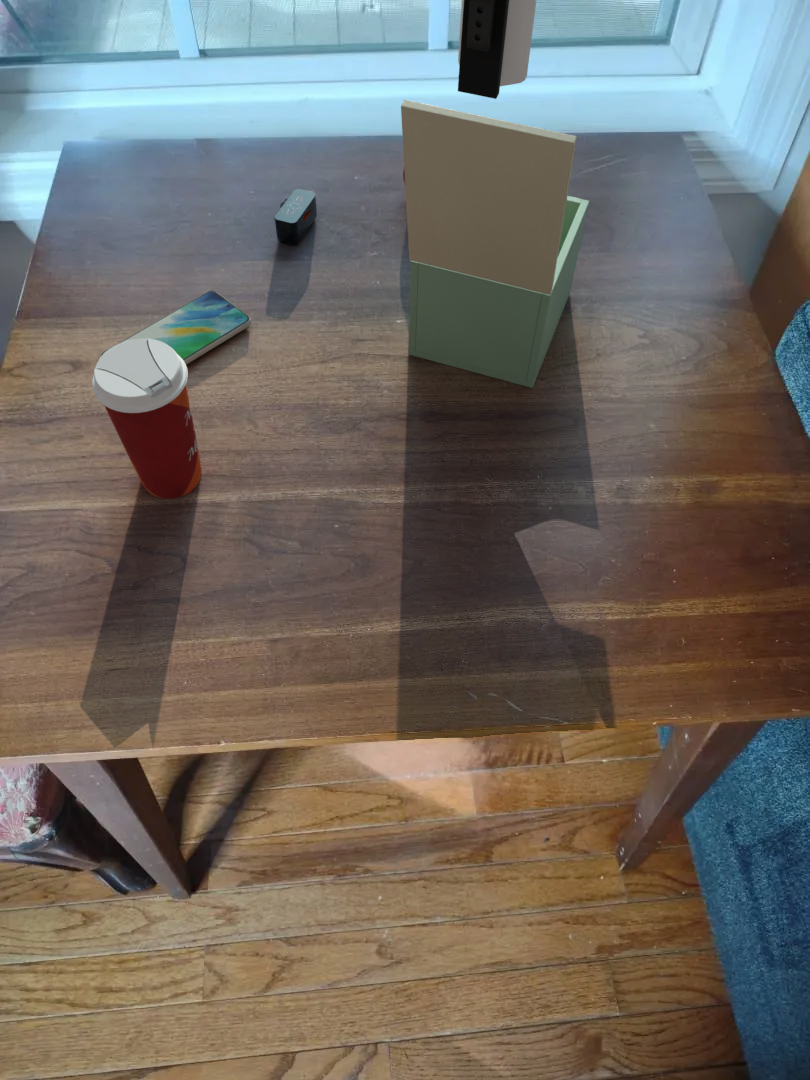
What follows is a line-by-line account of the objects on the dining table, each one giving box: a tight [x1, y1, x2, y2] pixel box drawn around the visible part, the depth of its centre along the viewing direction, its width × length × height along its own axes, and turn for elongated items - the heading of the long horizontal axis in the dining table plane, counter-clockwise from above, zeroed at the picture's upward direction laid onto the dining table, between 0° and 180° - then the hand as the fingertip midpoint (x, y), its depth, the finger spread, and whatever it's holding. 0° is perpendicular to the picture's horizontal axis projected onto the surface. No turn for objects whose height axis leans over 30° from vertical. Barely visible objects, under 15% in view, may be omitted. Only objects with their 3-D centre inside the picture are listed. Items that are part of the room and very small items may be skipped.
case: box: [407, 195, 590, 389], centre depth 89 cm, size 16×14×12 cm
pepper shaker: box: [457, 0, 537, 87], centre depth 56 cm, size 4×4×10 cm
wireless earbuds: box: [274, 188, 318, 246], centre depth 101 cm, size 5×7×3 cm, turn 160°
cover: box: [400, 99, 578, 295], centre depth 72 cm, size 16×14×1 cm
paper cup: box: [91, 339, 202, 500], centre depth 75 cm, size 8×8×14 cm
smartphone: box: [99, 290, 252, 365], centre depth 91 cm, size 7×1×15 cm
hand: (490, 70), depth 60 cm, fingers closed on pepper shaker, 5 cm apart
